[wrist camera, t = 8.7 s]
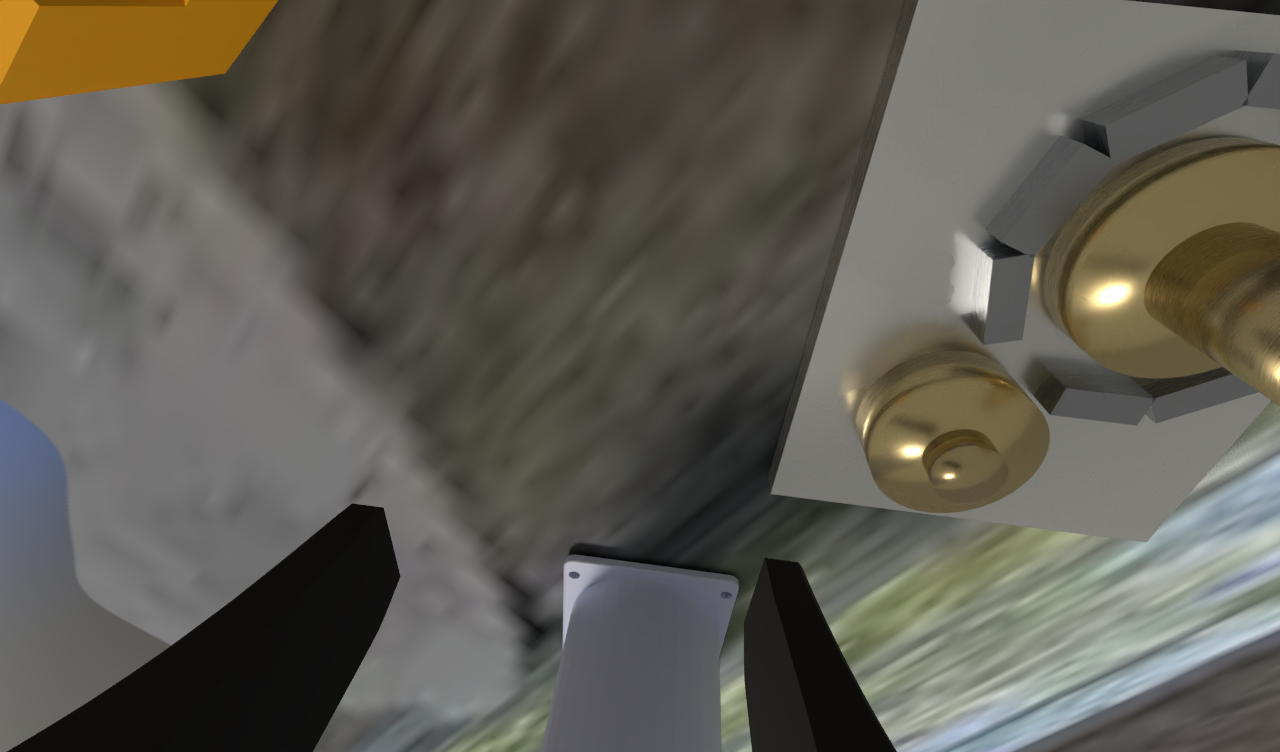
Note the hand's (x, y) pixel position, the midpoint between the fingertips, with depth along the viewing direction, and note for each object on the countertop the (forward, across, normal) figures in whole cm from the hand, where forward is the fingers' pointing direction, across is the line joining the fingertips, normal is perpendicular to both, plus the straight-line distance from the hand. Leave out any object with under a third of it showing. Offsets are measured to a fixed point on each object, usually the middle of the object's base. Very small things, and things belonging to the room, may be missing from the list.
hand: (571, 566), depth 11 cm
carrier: (+10, -13, -2) cm, 16 cm away
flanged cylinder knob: (+9, -14, -5) cm, 18 cm away
